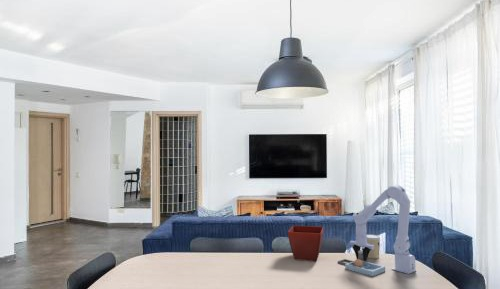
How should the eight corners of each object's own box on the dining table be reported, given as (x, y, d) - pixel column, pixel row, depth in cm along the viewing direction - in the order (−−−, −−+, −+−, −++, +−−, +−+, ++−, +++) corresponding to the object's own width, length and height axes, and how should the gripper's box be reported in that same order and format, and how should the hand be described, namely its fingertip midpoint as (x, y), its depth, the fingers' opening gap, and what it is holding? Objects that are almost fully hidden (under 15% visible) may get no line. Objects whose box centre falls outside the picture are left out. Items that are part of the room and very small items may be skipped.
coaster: (355, 263, 194) (355, 261, 194) (347, 265, 190) (347, 264, 190) (344, 260, 200) (344, 258, 200) (337, 263, 195) (337, 261, 195)
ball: (357, 266, 189) (357, 257, 189) (364, 268, 185) (364, 259, 186) (352, 267, 186) (352, 259, 186) (359, 269, 183) (359, 260, 183)
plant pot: (287, 261, 200) (287, 231, 201) (293, 252, 218) (292, 225, 219) (321, 263, 195) (320, 233, 195) (324, 254, 213) (323, 226, 213)
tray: (385, 271, 180) (385, 266, 180) (372, 276, 173) (372, 271, 173) (358, 264, 193) (358, 259, 193) (345, 268, 185) (345, 264, 185)
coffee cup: (382, 258, 203) (382, 238, 203) (366, 258, 203) (366, 238, 203) (377, 254, 212) (376, 234, 212) (361, 254, 212) (361, 234, 212)
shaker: (367, 262, 195) (367, 251, 195) (363, 264, 193) (362, 252, 193) (360, 261, 199) (360, 249, 199) (356, 262, 196) (356, 250, 196)
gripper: (376, 236, 193) (377, 261, 192) (354, 232, 204) (354, 255, 204) (369, 238, 189) (370, 263, 188) (347, 234, 200) (347, 257, 199)
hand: (361, 259), depth 196 cm, fingers closed on shaker, 4 cm apart
